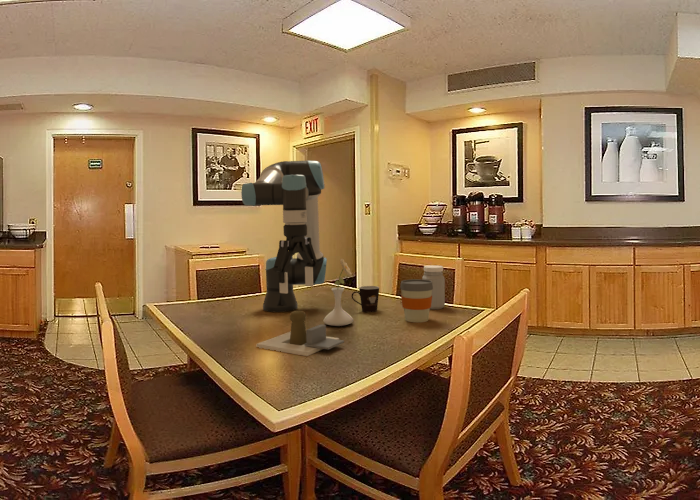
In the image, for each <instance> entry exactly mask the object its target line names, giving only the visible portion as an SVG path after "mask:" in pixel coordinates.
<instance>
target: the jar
mask: <svg viewBox="0 0 700 500" xmlns="http://www.w3.org/2000/svg"><path fill="white" fill-rule="evenodd" d="M423 271H424V272H423V275H422V278H421V280H430V281H432V285H433V289H432V294H431V295H432V303H431V308H430V310H441V309H444V307H445V305H446V304H445V303H446V302H445V301H446V299H445V298H446V297H445V292H446V289H445V287H446V284H445V283H446V280H445V278H446V277H445V276H444V266H443V265H437V264H436V265H432V264H430V265H424V266H423Z"/></svg>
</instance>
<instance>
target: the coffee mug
mask: <svg viewBox="0 0 700 500" xmlns="http://www.w3.org/2000/svg"><path fill="white" fill-rule="evenodd" d="M358 289H359V291H357V290H356V291H353V292H352V294H351V299H352V300H353V301H354V302H355V303H357V304H359V305H360V306H361V311H362V312H363V313H375V312H378V306H379V294H380V286H377V285H364V286H360V287H358ZM355 293H357V294H358V295H359V296H360V297H359V298H360V302H359V301H358V300H356V299H355V298H354V294H355Z"/></svg>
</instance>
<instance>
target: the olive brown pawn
mask: <svg viewBox="0 0 700 500" xmlns="http://www.w3.org/2000/svg"><path fill="white" fill-rule="evenodd" d="M306 318H307V315H306V312H305V311H303V310H292V311H290V314H289V319H290V322H291V323H290V324H291V325H290V332H291V334H290V343H289V344H294V345H304V344H305V343H307V340H306V330H307V329H306V323H305V321H306Z"/></svg>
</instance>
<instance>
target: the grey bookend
mask: <svg viewBox="0 0 700 500" xmlns="http://www.w3.org/2000/svg"><path fill="white" fill-rule="evenodd" d="M326 336H327V324H318V325H316V326H312V327H310V328H308V329H306V340H307V343H305V344H304V346H309V347H316V348H322V350H331V349H333V348H335V347H337V346H340V345H342V344H343V343H345V340H343V339H339V340H337V339H330V338H326Z"/></svg>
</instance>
